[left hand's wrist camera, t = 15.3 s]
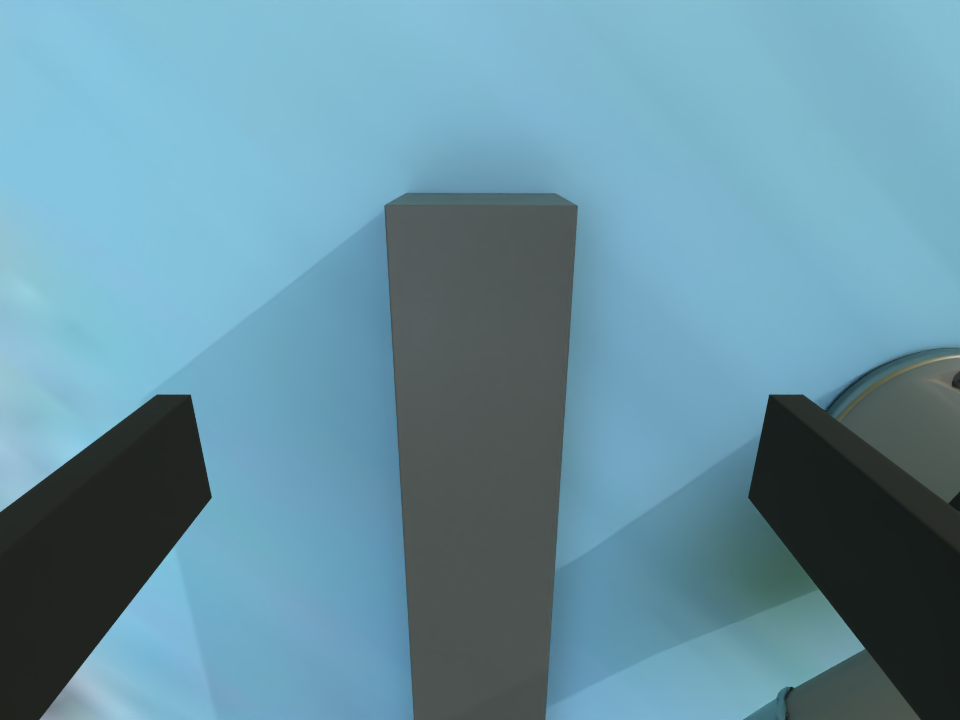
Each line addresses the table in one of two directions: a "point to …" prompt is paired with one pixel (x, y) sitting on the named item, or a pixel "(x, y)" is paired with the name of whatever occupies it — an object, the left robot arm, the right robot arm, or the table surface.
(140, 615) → the table surface
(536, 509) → the wide block
